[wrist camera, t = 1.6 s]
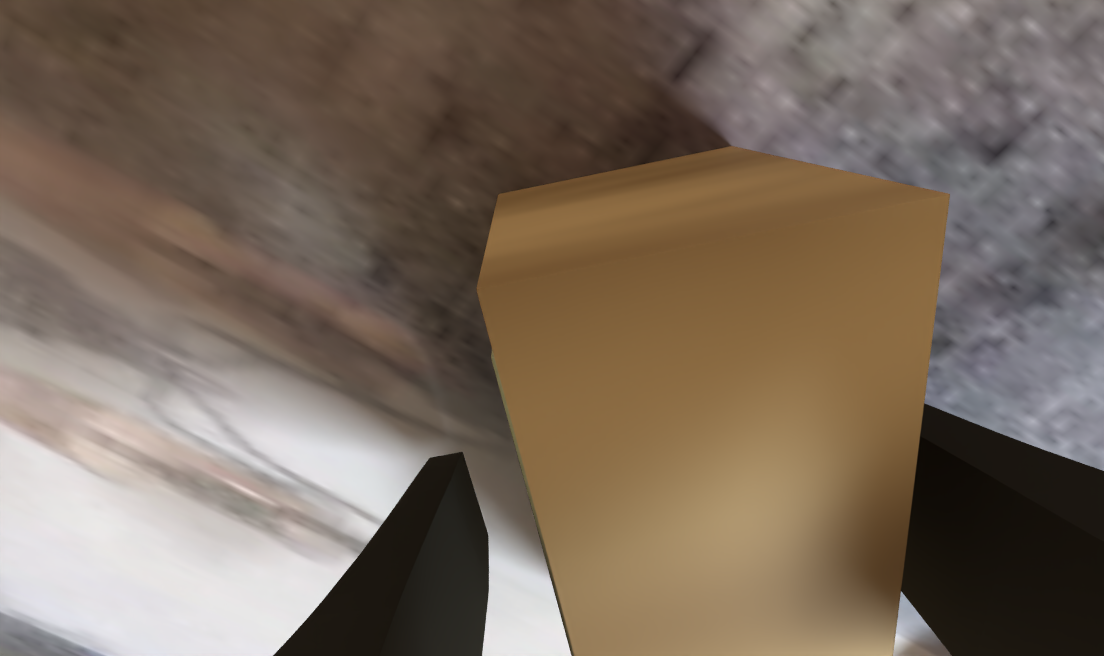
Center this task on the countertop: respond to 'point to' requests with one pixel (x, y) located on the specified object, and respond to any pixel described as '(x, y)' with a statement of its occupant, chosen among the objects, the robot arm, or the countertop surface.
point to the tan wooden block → (718, 397)
